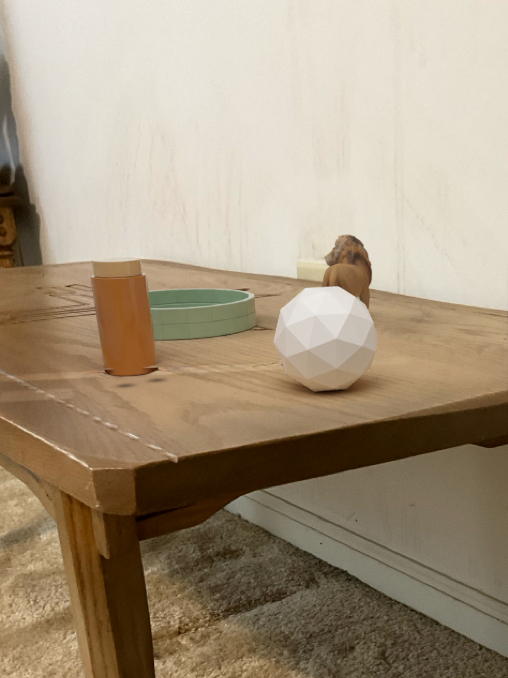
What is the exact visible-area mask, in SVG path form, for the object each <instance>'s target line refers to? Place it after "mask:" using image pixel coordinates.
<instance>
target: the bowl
mask: <svg viewBox="0 0 508 678" xmlns="http://www.w3.org/2000/svg"><path fill="white" fill-rule="evenodd" d="M149 297H150V305H151V312H152V320H153V328H154V336H155V341H172V340H173V341H176V340H193V339H195V340H196V339H204V338H214V337H221V336H228V335H233V334H237V333H241V332H245V331H248V330H250V329H252V328H254V327H256V326H257V314H256V312H257V311H256V310H257V309H256V300H255V298H256V297H255V294H254V293H252V292H250V291H245V290H238V289H229V288H206V287H205V288H202V287H201V288H200V287H199V288H195V287H193V288H170V289H169V288H168V289H155V290H149Z"/></svg>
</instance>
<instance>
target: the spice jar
mask: <svg viewBox="0 0 508 678" xmlns="http://www.w3.org/2000/svg"><path fill="white" fill-rule="evenodd" d="M91 267H92V272H93V275H90V277H89V278H90V284H91V291H92V298H93V305H94V310H95V317H96V323H97V329H98V336H99V343H100V350H101V356H102V357H101V358H102V362H103V367H104V368H106V369H104V374H106V375H111V376H116V377H117V376H118V377H128V376H129V377H130V376H131V377H132V376H141V375H146V374H151V373H153V372H156V371H158V370H159V367H156V366H155V365H157V364H158V363H159V361H158V360H159V359H158V351H157V343H156V340H155V336H154V328H153V320H152V312H151V305H150V297H149V291H150V290H149V281H148V275H147V273H145V272H144V271H143V266H142V259H141V258H140V257H131V256H130V257H128V256H126V257H124V256H123V257H122V256H121V257H105V258H103V257H102V258H96V259H91ZM152 366H155V367H152Z"/></svg>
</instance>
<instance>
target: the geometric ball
mask: <svg viewBox="0 0 508 678" xmlns="http://www.w3.org/2000/svg"><path fill="white" fill-rule="evenodd" d="M378 338H379V337H378V333H377V329H376V326H375V322H374V321H373V318H372V316H371V313H370V312H369V309H367V307H366V305H365V304H364V303H363V302H361V301H360V298H359V297H357V298H356V297H355V296H353V295H352V294H350V293H348V292H347V291H345V290H343V289H342V288H340V287H339V286H335V287H322V286H317V287H315V286H314V287H305V288H304V289H302V290H301V291H300V292H298V294H296V296H294V297H293V298H292V299H291V300H290V301H288V302H287V303H286V304H285V305H284V306H283V307H281V308H280V310H279V315H278V319H277V324H276V328H275V333H274V337H273V341H272V342H273V345H274V348H275V351H276V353H277V355H278V357H279V360H280V362H281V365H282V367H283V370H284V372H285V374H286V375H287V376H289V377H290V378H292V379H293V380H294V381H297V382H298V383H300V384H301V385H302V386H305V387H306V388H308V389H309V390H311V391H312V392H314V393H315V392H327V391H341V390H347V389H348V388H349V387H350V386H352V385H353V384H354V383H355V382H356V381H358V379H360V378H361V377H362V376H363V375H364V374H365V373H366V372H368V371H369V370H370V369H371V367H372V365H373V362H374V359H375V356H376V354H377V351H378Z"/></svg>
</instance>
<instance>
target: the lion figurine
mask: <svg viewBox="0 0 508 678" xmlns="http://www.w3.org/2000/svg"><path fill="white" fill-rule="evenodd" d="M364 246H365V245H364V243H363V242H362V241H361V240H360V239H359V238H357V237H356V236H355V235H352V234H341V235H338V237H337V239H335V242H334V247H332V250H331V251H330V252H329V253H327V254H326V255H325V256H324V260H325V264H326V265H327V266H329V267H327V268H326V270H325V272H324V273H323V277H322V282H321V287H335V286H339V287H340V288H342V289H343V290H345V291H347V292H348V293H350V294H352V295H353V296H355V297H356V298H358V299H359V300H360V301H361V302H363V303H364V304H365V305H366V307H367V309H368V310H370V309H369V308H370V300H371V293H370V285H371V284H372V282H373V269H372V262H371V261H370V258H369V252H368V251H367V249H366V248H365V247H364Z"/></svg>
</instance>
